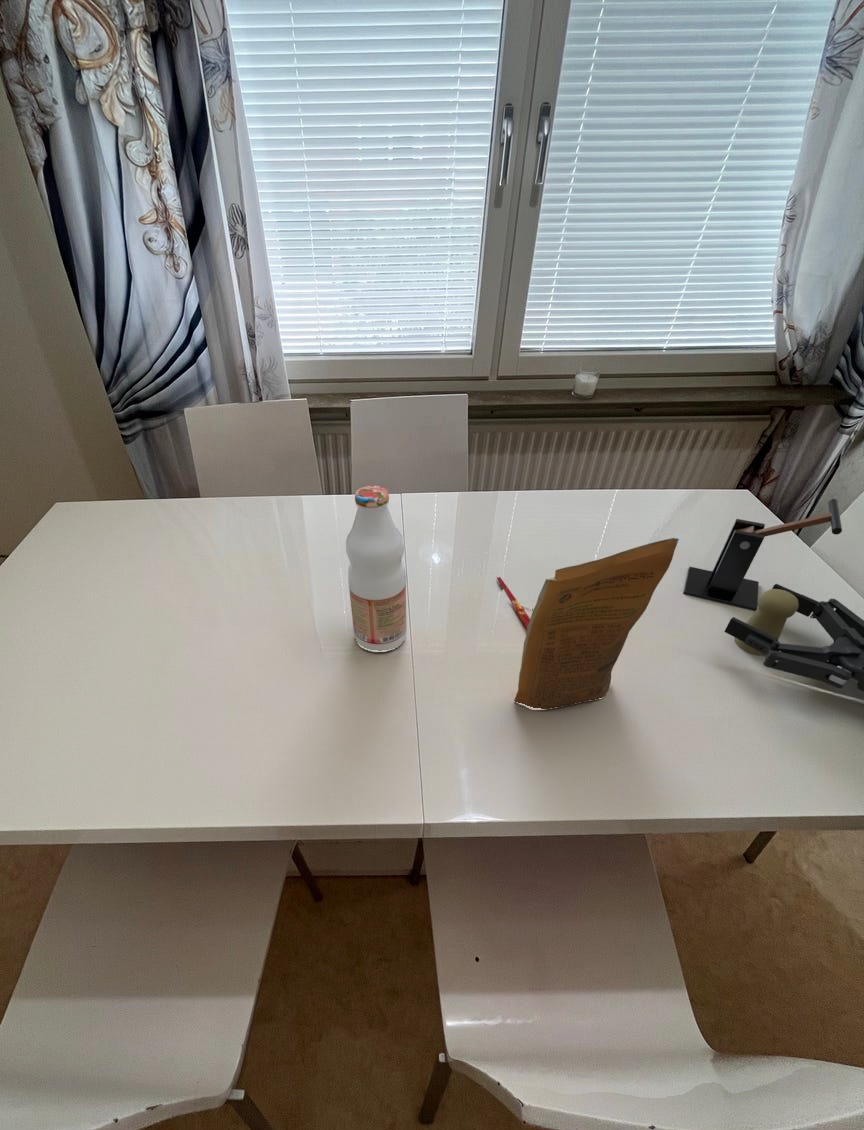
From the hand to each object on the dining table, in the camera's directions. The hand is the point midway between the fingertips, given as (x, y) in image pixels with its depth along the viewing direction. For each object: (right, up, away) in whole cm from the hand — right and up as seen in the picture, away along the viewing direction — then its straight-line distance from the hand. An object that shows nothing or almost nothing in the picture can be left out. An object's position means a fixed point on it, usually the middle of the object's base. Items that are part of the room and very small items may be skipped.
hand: (750, 606), depth 87 cm
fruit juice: (-61, -5, +8) cm, 61 cm away
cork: (+2, -7, +3) cm, 7 cm away
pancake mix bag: (-32, -15, -4) cm, 35 cm away
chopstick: (-35, -1, +11) cm, 36 cm away
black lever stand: (+3, +4, +14) cm, 15 cm away
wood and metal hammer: (+8, +12, +2) cm, 15 cm away
